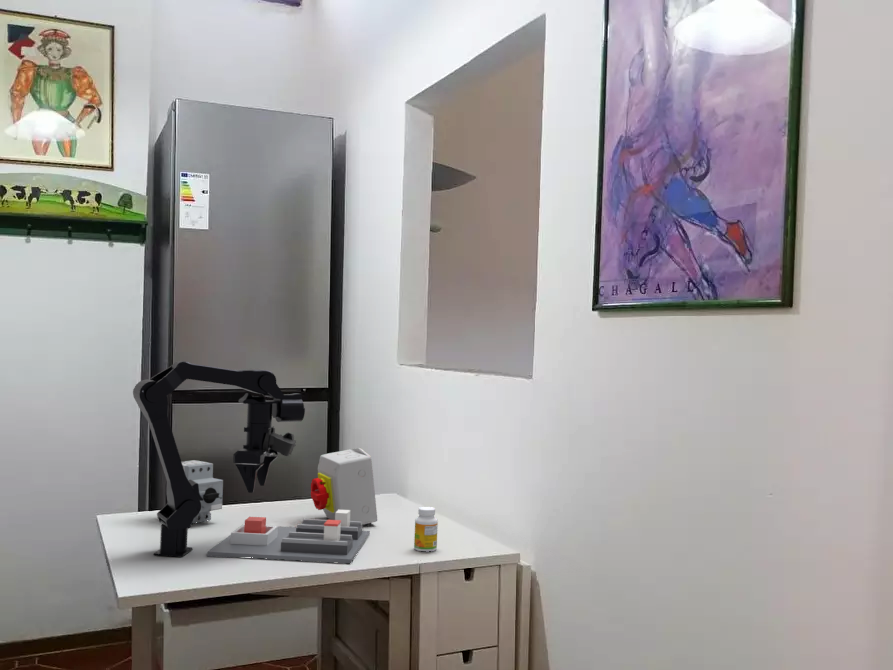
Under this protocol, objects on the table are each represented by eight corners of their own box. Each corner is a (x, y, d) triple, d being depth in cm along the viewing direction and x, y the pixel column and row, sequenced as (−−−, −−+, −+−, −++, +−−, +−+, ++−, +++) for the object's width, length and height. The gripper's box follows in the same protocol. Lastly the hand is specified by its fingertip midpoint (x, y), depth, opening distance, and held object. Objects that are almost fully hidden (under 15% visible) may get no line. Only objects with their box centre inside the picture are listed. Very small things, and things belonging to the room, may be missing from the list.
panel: (350, 564, 176) (351, 546, 176) (207, 556, 178) (207, 538, 178) (369, 535, 203) (370, 519, 203) (244, 528, 205) (245, 513, 205)
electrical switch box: (306, 526, 219) (299, 453, 218) (358, 514, 226) (350, 444, 225) (324, 539, 206) (316, 461, 205) (378, 526, 213) (370, 451, 212)
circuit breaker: (200, 529, 202) (203, 469, 203) (167, 520, 211) (169, 462, 211) (225, 524, 208) (227, 466, 209) (192, 515, 217) (194, 459, 217)
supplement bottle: (410, 547, 193) (412, 506, 193) (432, 545, 195) (433, 505, 195) (418, 552, 188) (419, 511, 188) (439, 551, 190) (441, 510, 190)
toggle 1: (336, 543, 181) (337, 524, 181) (323, 542, 182) (324, 523, 182) (340, 539, 185) (341, 520, 186) (327, 538, 186) (327, 519, 186)
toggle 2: (346, 529, 195) (347, 513, 195) (334, 528, 196) (335, 512, 196) (349, 525, 199) (350, 510, 199) (337, 524, 200) (338, 509, 200)
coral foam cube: (260, 542, 187) (261, 521, 188) (243, 541, 188) (244, 520, 188) (265, 538, 191) (266, 517, 192) (248, 537, 192) (249, 516, 192)
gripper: (282, 428, 180) (280, 498, 180) (302, 420, 199) (299, 483, 199) (233, 426, 181) (230, 495, 181) (257, 418, 199) (255, 481, 199)
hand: (256, 489), depth 190 cm, fingers open, 9 cm apart
